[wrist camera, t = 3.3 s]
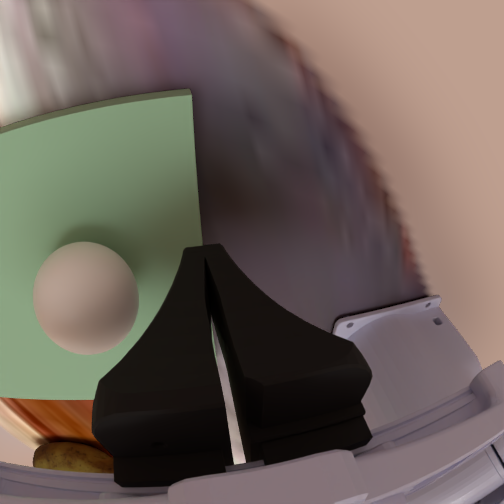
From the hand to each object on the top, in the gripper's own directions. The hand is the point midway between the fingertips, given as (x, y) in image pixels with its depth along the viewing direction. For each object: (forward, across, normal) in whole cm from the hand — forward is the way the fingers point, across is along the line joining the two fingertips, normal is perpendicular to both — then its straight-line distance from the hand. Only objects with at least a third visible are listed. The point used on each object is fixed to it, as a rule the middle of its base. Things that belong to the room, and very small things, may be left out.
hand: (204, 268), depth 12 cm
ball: (-1, +4, 0) cm, 4 cm away
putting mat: (+4, +10, +2) cm, 11 cm away
